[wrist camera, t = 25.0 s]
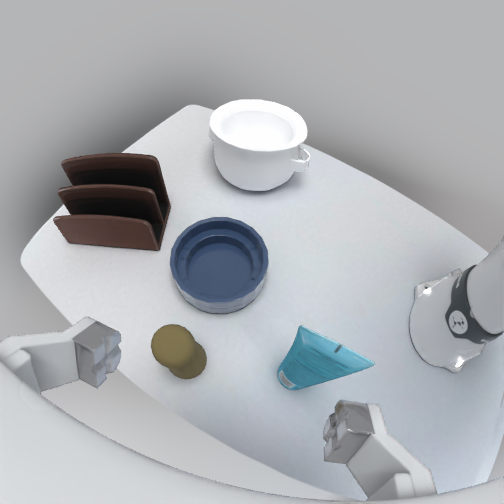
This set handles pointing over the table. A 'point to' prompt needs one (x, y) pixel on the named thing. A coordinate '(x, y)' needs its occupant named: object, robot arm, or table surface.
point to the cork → (178, 351)
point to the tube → (318, 361)
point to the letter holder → (114, 201)
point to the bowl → (219, 264)
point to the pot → (258, 143)
